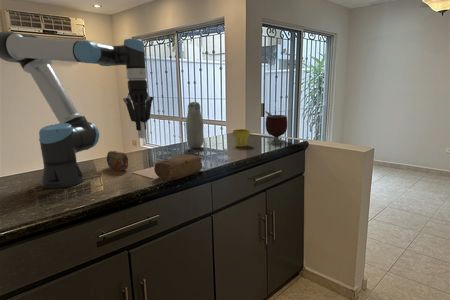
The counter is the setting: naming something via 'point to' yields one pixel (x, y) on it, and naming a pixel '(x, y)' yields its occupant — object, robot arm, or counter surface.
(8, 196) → the counter surface
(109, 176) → the counter surface
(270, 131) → the mate gourd
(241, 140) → the plant pot
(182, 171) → the block
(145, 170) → the pad
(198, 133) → the grey bottle
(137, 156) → the counter surface
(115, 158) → the mottled brown rounded slab
